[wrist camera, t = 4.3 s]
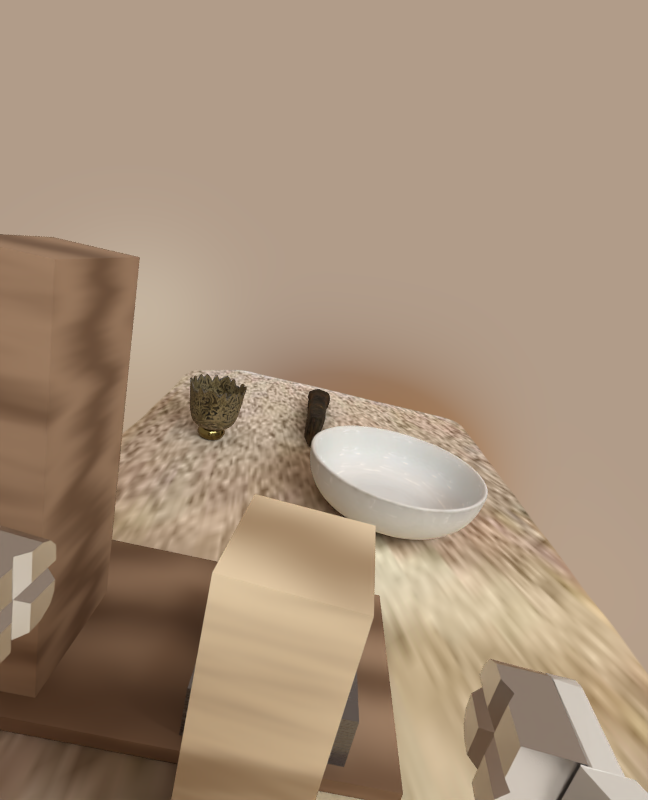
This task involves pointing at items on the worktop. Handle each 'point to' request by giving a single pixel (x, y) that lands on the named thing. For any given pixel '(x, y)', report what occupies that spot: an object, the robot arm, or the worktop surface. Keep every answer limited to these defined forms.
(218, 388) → the cup
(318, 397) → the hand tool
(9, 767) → the worktop surface
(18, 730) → the l-shaped wooden bracket
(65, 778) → the worktop surface
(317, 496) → the worktop surface
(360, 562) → the rail bar
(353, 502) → the serving bowl
